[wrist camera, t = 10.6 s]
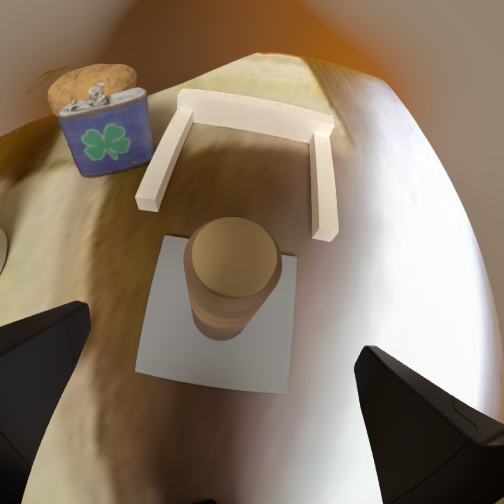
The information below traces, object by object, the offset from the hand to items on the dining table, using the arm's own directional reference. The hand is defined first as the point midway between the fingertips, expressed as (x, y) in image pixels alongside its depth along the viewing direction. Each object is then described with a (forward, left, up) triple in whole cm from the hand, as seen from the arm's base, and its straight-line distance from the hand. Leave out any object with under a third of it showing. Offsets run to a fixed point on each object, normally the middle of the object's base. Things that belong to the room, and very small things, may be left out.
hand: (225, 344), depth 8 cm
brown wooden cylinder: (+2, +3, -13) cm, 14 cm away
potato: (-5, +35, -14) cm, 38 cm away
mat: (+2, +3, -14) cm, 14 cm away
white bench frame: (+11, +17, -14) cm, 24 cm away
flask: (-3, +23, -14) cm, 27 cm away
